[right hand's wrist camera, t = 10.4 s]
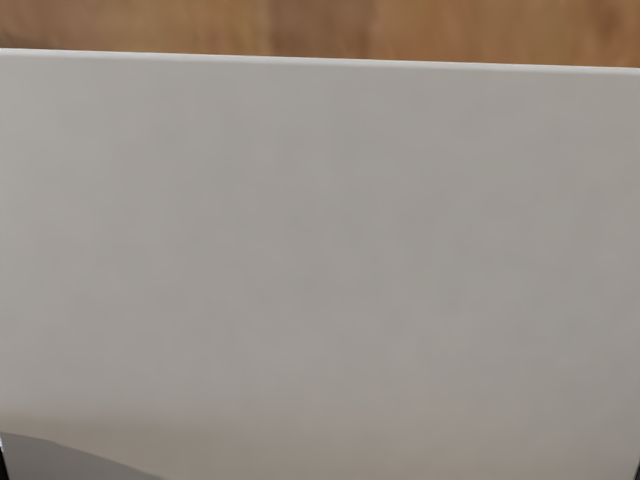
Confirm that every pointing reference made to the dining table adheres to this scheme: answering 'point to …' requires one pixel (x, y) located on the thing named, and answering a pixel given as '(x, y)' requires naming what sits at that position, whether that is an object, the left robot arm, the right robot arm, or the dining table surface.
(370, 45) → the dining table surface
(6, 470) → the right robot arm
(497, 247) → the slab
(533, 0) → the dining table surface
